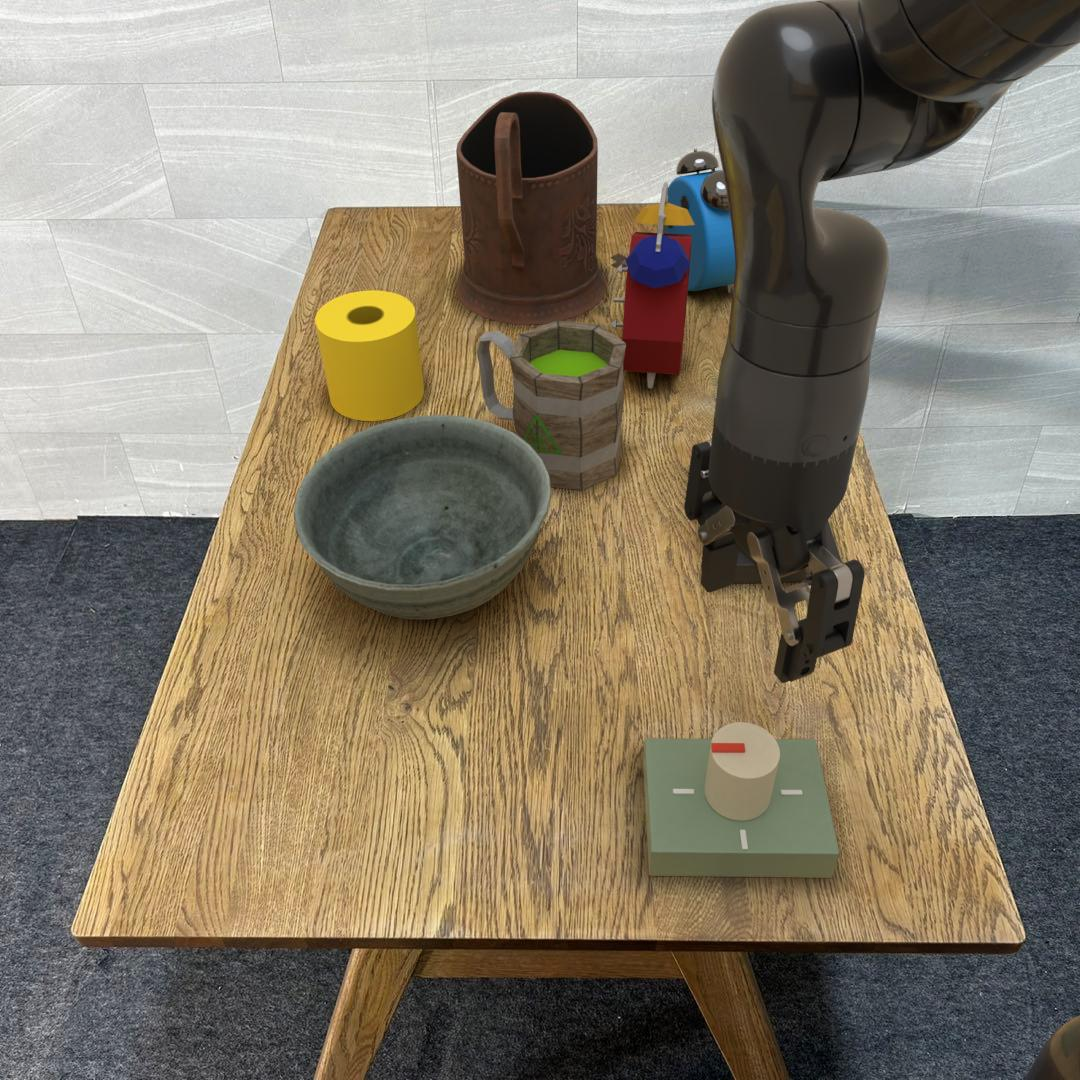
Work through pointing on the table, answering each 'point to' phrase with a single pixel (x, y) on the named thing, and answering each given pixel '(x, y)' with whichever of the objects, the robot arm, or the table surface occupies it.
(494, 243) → the tea glass holder
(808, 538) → the robot arm
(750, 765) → the dial knob
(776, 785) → the dial panel
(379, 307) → the yellow toilet paper roll
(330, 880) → the table surface
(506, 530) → the bowl
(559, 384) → the mug
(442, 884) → the table surface
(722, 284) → the alarm clock
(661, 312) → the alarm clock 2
